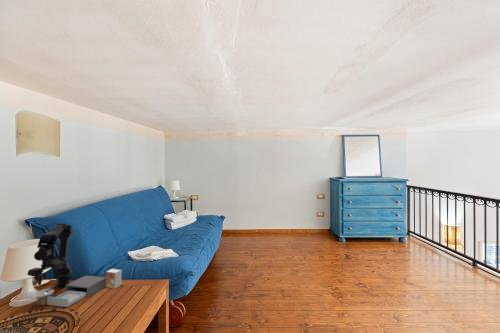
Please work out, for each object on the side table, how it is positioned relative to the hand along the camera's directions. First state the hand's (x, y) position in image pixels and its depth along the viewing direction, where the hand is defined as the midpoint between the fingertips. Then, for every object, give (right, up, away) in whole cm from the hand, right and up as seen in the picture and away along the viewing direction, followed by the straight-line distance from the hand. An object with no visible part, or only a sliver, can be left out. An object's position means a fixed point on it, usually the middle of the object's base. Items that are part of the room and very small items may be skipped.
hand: (47, 281), depth 141 cm
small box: (+28, -13, +20) cm, 37 cm away
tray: (+11, -12, +1) cm, 16 cm away
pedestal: (-1, -12, -1) cm, 12 cm away
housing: (+13, -13, +14) cm, 23 cm away
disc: (-1, -7, -1) cm, 7 cm away
